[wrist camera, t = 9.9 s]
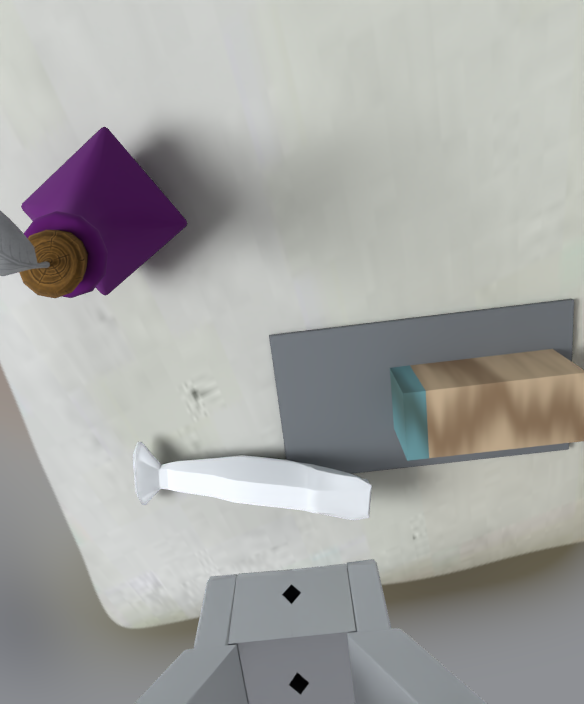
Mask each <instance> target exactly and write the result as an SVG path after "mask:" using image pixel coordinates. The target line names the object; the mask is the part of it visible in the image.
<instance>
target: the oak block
mask: <svg viewBox="0 0 584 704" xmlns="http://www.w3.org/2000/svg"><path fill="white" fill-rule="evenodd" d="M390 379H391V393H392V407H393V421H394V430H395V432H396V435H397V437H398V439H399V442H400V444H401V447H402V449H403V452H404V454H405V456H406V459H407V461H409V460H418V459H427V458H436V457H445V456H454V455H463V454H472V453H481V452H490V451H499V450H508V449H517V448H526V447H535V446H544V445H553V444H562V443H571V442H580V441H584V370H583V369H582V368H580V367H579V366H577V365H576V364H574V363H573V362H571V361H570V360H568V359H567V358H565V357H564V356H562V355H561V354H559V353H558V352H556V351H555V350H553V349H547V350H538V351H530V352H521V353H513V354H504V355H496V356H487V357H478V358H470V359H461V360H453V361H444V362H436V363H427V364H418V365H410V366H401V367H393V368H390Z"/></svg>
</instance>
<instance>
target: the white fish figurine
mask: <svg viewBox="0 0 584 704" xmlns="http://www.w3.org/2000/svg"><path fill="white" fill-rule="evenodd" d="M133 467H134V480H135V493H136V495H137V497H138V498H139V500H140V502H141V504H142V505H146V504H147V503H148V502H149V501H150V500H151V499H152V498H153V496H154V495H155V494H156V493H157V492H158V491H159V490H160V489H167V490H172V491H176V492H182V493H189V494H196V495H204V496H211V497H216V498H219V499H223V500H227V501H231V502H235V503H243V504H251V505H259V506H269V507H280V508H287V509H296V510H304V511H309V512H312V513H319V514H323V515H328V516H333V517H338V518H344V519H350V520H359V519H364V518H369V514H370V502H371V489H372V485H370V484H369V482H368V480H367V479H362V478H360V477H358V476H356V475H353V474H350V473H346V472H343V471H339V470H335V469H331V468H327V467H322V466H317V465H314V464H307V463H300V462H294V461H289V460H282V459H274V458H265V457H254V456H244V455H240V456H231V457H222V458H211V459H198V460H185V461H176V462H171V463H166V464H160V462H159V461H158V460H157V459H156V458H155V457H154V455H153V454H152V453H151V452H150V451H149V450H148V448H147V447H146V446H145V445H144V444H143V443H142V442H137V445H136V448H135V451H134V453H133Z"/></svg>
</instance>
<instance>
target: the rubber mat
mask: <svg viewBox="0 0 584 704" xmlns="http://www.w3.org/2000/svg"><path fill="white" fill-rule="evenodd" d="M573 315H574V300H573V299H567V300H558V301H550V302H541V303H533V304H525V305H516V306H508V307H500V308H491V309H483V310H475V311H466V312H458V313H450V314H441V315H433V316H425V317H416V318H408V319H399V320H391V321H383V322H374V323H366V324H358V325H349V326H341V327H333V328H324V329H316V330H308V331H299V332H291V333H283V334H274V335H269V338H270V346H271V353H272V360H273V367H274V374H275V381H276V388H277V395H278V402H279V409H280V417H281V424H282V431H283V438H284V445H285V452H286V459H287V460H289V461H294V462H300V463H307V464H314V465H317V466H322V467H327V468H331V469H335V470H339V471H343V472H346V473H350V474H352V473H361V472H370V471H379V470H388V469H397V468H406V467H415V466H424V465H433V464H442V463H451V462H460V461H468V460H477V459H486V458H495V457H504V456H513V455H522V454H531V453H540V452H549V451H558V450H567V449H569V443H562V444H553V445H544V446H535V447H526V448H517V449H508V450H499V451H490V452H481V453H472V454H463V455H454V456H445V457H436V458H427V459H418V460H409V461H407V459H406V456H405V454H404V452H403V449H402V447H401V444H400V442H399V439H398V437H397V435H396V432H395V430H394V421H393V407H392V393H391V379H390V368H393V367H401V366H410V365H418V364H427V363H436V362H444V361H453V360H461V359H470V358H478V357H487V356H496V355H504V354H513V353H521V352H530V351H538V350H547V349H553V350H555V351H556V352H558V353H559V354H561V355H562V356H564V357H565V358H567V359H568V360H570V361H571V362H572V343H573Z"/></svg>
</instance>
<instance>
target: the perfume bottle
mask: <svg viewBox="0 0 584 704" xmlns="http://www.w3.org/2000/svg"><path fill="white" fill-rule="evenodd" d="M21 207H22V209H23V211H24V212H25V213H26V214H27V215H28V216H29V217H30V218H31V219H32V220H33V222H32V223H31V225H30V226H29V227H28V229H27V230H26V231H25V233H24V234H23V232H22V231H21V230H20V229H19V228H18V227H17V226H16V225H15V224H14V223H13V222H12V221H11V220H10V219H9V218H8V217H7V216H6V215H5V214H4V213H2V212H1V211H0V276H6V275H10V274H14V273H17V272H20V275H21V278H22V280H23V283H24V284H25V285H26V286H28V287H29V288H30V289H31V290H32V291H34V292H35V293H36V294H37V295H41V296H46V297H51V298H58V297H61V296H63V297H68V298H73V297H76V296H79V295H82V294H85V293H88V292H91V291H93V290H94V288H95V287H96V288H97V289H98V291H99V292H100V293H101V294H103V295H108V294H109V293H110V292H111V291H112V290H114V289H115V288H116V287H117V286H118V285H119V284H120V283H122V282H123V281H124V280H125V279H126V278H127V277H128V276H130V275H131V274H132V273H133V272H134V271H135V270H136V269H138V268H139V267H140V266H141V265H142V264H143V263H144V262H146V261H147V260H148V259H149V258H150V257H151V256H153V255H154V254H155V253H156V252H157V251H158V250H159V249H161V248H162V247H163V246H164V245H165V244H166V243H167V242H169V241H170V240H171V239H172V238H173V237H174V236H175V235H177V234H178V233H179V232H180V231H181V230H182V229H183V228H185V227H186V225H187V221H186V219H185V218H184V217H183V216H182V215H181V214H180V212H179V211H178V210H177V209H176V208H175V207H174V205H173V204H172V203H171V202H170V201H169V200H168V198H167V197H166V196H165V195H164V194H163V193H162V191H161V190H160V189H159V188H158V187H157V186H156V184H155V183H154V182H153V181H152V180H151V179H150V177H149V176H148V175H147V174H146V173H145V172H144V170H143V169H142V168H141V167H140V166H139V164H138V163H137V162H136V161H135V160H134V159H133V157H132V156H131V155H130V154H129V153H128V152H127V150H126V149H125V148H124V147H123V146H122V145H121V143H120V142H119V141H118V140H117V139H116V138H115V136H114V135H113V134H112V133H111V132H110V131H109V129H108V128H106V127H103V128H101V129H100V130H99V131H98V132H97V133H96V134H94V135H93V136H92V137H91V138H90V139H89V140H88V141H87V142H86V143H85V144H84V145H83V146H82V147H81V148H80V149H79V150H78V151H77V152H76V153H75V154H74V155H73V156H72V157H71V158H69V159H68V160H67V161H66V162H65V163H64V164H63V165H62V166H61V167H60V168H59V169H58V170H57V171H56V172H55V173H54V174H53V175H52V176H51V177H50V178H49V179H48V180H46V181H45V182H44V183H43V184H42V185H41V186H40V187H39V188H38V189H37V190H36V191H35V192H34V193H33V194H32V195H31V196H30V197H29V198H28V199H27V200H26V201H25V202H23V203H22V206H21Z"/></svg>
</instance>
